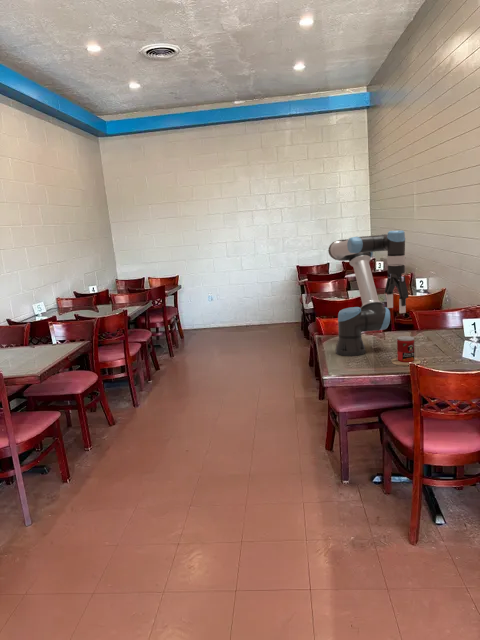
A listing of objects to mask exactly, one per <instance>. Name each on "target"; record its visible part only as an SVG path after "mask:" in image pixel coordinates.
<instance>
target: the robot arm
mask: <svg viewBox="0 0 480 640" xmlns="http://www.w3.org/2000/svg"><path fill="white" fill-rule="evenodd" d="M327 251H328V255H329V257H330V258H331V259H333V260H335V261H340V262H341V261H342V262H344V261H345V262H347V261H348V262H349V265H350V266H351V267H353V271H354V275H355V280H356V282H357V287H358V288H357V289H358V291H359V296H360V299H361V300H360V301H361V306H360V307H359V306H354V307H353V306H352V307H346V308H343V309H341V310H339V312H338V314H337V322H338V324H337V325H338V340H337V344H336V345H335V346H336V347H335V354H337V355H339V356H344V357H346V356H347V357H353V356H354V357H356V356H361V355H364V354H366V347H365V343H364V341H363V339H362V338H363V337H362V333H364V332H365V333H367V332H378V331H383V330H387V328H388V327H389V325H390V321H391V311H390V309H393V308H394V290H395V288H396V289H397V292H398V295H399V298H398V299H399V301H398V305H399V308H398V309H399V311H398V312H399V313H398V314H406V311H407V310H406V309H407V308H406V307H407V302H406V301H407V299H408V298H409V292H408V288H407V283H406V276H403V275H402V274H404V273H405V271H406V266H405V264H406V263H405V260H406V255H405V254H406V252H405V251H406V233H405V231H404V230H403V229H402V230H389V231H388V232H387V233H385V234H384V233H383V234H380V235H379V234H378V235H377V234H376V235H367V236H363V235H362V236H352V237H351V236H350V238H348V239H338V240H335V241H332V243H330V245H329V246H328V250H327ZM374 252H375V253H376V252H387V258H386V259H387V261H386V262H387V276H386V277H387V279H386V283H385V286H384V287H385V288H384V293H385V294H386V306H384V304H383V302H382V301H380V300H379V296H378V293H377V288H376V285H375V282H374V281H375V280H374V276H373V273H372V269H371V266H370V262H371V260H372V257H373V254H374Z"/></svg>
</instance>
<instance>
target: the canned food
mask: <svg viewBox="0 0 480 640" xmlns="http://www.w3.org/2000/svg"><path fill="white" fill-rule="evenodd" d="M396 338H397V339H396V343H397V344H396V346H397V348H396V353H397V354H396V356H397V357H396V358H397V359H398V361H400V362H413V361H414V358H415V337H414V336H410V335H409V336H408V335H401V336H397V337H396Z"/></svg>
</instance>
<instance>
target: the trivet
mask: <svg viewBox="0 0 480 640" xmlns="http://www.w3.org/2000/svg"><path fill="white" fill-rule="evenodd" d="M413 362H414V363H416V364H419V365H421V363H422V362H421V359H419V358H416V357H414V361H413ZM408 363H409V362H400V361H398V359H397V357H394V358H392V359H391V364H393V365H395V366H401V367H409V366H408Z"/></svg>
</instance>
